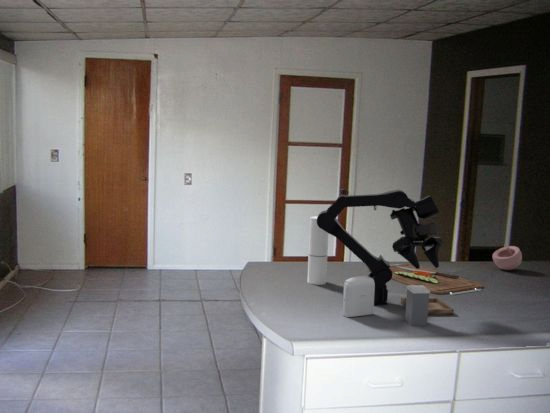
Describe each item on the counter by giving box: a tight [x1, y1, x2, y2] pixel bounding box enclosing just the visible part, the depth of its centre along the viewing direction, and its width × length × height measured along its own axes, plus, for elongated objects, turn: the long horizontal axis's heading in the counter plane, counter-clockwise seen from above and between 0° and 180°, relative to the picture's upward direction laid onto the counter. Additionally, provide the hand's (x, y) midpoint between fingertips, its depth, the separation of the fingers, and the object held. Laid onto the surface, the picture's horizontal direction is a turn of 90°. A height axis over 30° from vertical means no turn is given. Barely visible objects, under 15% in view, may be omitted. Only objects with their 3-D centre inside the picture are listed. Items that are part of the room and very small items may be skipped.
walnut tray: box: [400, 297, 455, 316], centre depth 184 cm, size 13×13×2 cm
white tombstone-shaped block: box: [342, 275, 375, 318], centre depth 175 cm, size 10×4×12 cm, turn 114°
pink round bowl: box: [492, 244, 523, 271], centre depth 245 cm, size 12×12×11 cm
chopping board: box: [368, 263, 483, 296], centre depth 225 cm, size 45×27×3 cm, turn 30°
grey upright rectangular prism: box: [404, 285, 431, 327], centre depth 169 cm, size 5×5×11 cm
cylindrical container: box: [306, 215, 329, 286], centre depth 212 cm, size 7×7×25 cm
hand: (428, 267), depth 177 cm, fingers open, 9 cm apart
